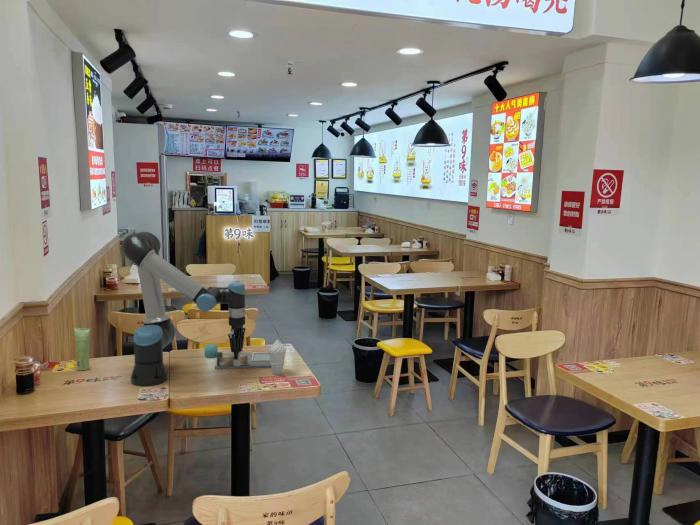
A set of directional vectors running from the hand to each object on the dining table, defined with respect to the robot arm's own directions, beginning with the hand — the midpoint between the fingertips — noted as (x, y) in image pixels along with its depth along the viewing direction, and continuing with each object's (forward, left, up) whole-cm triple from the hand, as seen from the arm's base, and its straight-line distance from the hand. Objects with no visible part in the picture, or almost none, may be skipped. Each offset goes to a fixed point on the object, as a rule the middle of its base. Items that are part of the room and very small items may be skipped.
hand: (237, 365), depth 242 cm
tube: (-70, +8, -3) cm, 71 cm away
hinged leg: (-3, +5, -1) cm, 6 cm away
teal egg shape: (-15, +24, -3) cm, 28 cm away
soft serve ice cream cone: (+18, -4, -3) cm, 19 cm away
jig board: (+4, +14, -3) cm, 15 cm away
